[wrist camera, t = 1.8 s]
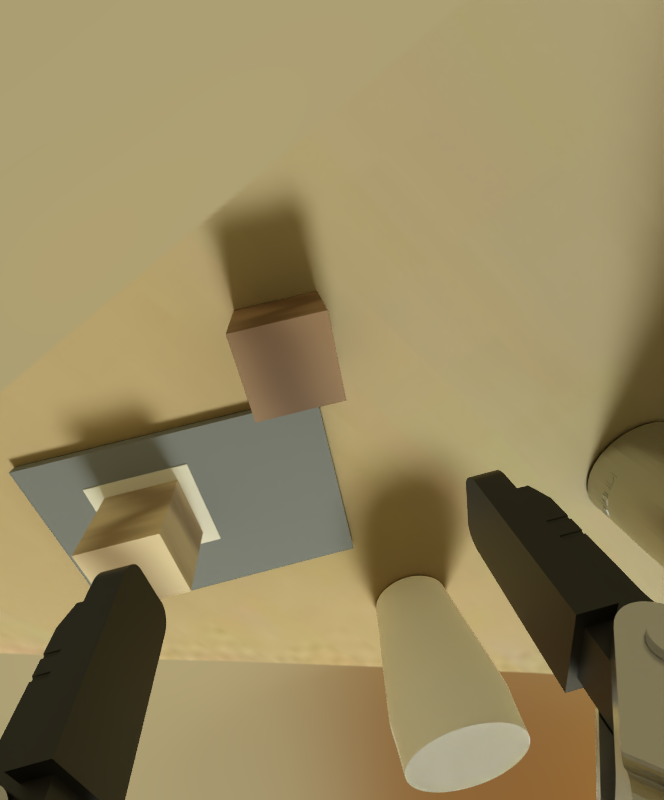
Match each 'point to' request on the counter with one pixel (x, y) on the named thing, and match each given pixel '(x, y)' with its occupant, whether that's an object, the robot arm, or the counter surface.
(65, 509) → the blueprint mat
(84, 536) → the maple block
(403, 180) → the counter surface
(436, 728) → the cup
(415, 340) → the counter surface
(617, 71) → the counter surface
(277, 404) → the walnut block
